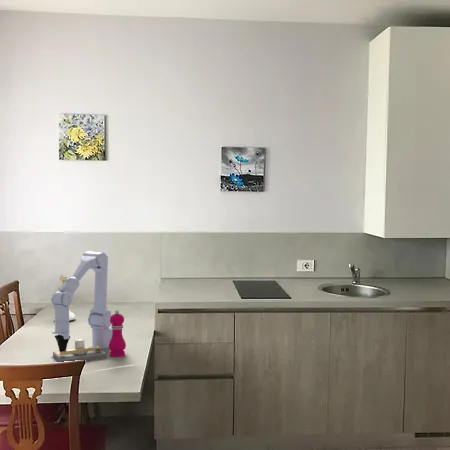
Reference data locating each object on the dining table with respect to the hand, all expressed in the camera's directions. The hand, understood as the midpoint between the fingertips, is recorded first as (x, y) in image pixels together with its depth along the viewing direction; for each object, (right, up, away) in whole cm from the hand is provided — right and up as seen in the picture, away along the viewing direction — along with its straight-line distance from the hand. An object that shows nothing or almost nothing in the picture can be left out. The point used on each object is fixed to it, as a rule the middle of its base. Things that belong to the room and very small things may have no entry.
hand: (62, 352), depth 237 cm
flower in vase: (-20, +1, +75) cm, 77 cm away
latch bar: (+7, 0, +1) cm, 7 cm away
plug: (+6, -3, +4) cm, 8 cm away
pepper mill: (+21, -4, +8) cm, 23 cm away
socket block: (+6, -4, +5) cm, 8 cm away
